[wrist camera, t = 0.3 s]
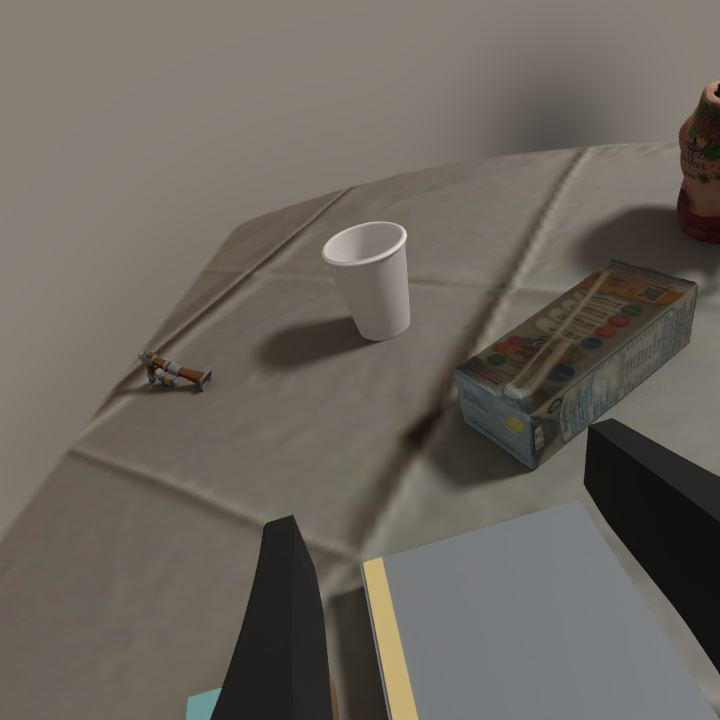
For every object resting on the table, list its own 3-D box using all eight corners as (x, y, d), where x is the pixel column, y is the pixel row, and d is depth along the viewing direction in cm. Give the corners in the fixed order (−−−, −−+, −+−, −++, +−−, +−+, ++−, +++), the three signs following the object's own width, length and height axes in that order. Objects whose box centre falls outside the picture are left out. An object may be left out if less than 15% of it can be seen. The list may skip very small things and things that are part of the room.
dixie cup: (405, 353, 50) (384, 264, 44) (333, 344, 54) (305, 262, 48) (434, 304, 56) (418, 219, 50) (366, 300, 60) (345, 221, 54)
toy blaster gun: (148, 372, 58) (142, 343, 54) (212, 395, 57) (211, 368, 54) (138, 383, 56) (132, 354, 53) (204, 407, 55) (202, 379, 52)
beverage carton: (456, 421, 42) (446, 360, 38) (608, 312, 48) (612, 250, 44) (533, 477, 36) (530, 412, 32) (694, 345, 42) (708, 277, 39)
